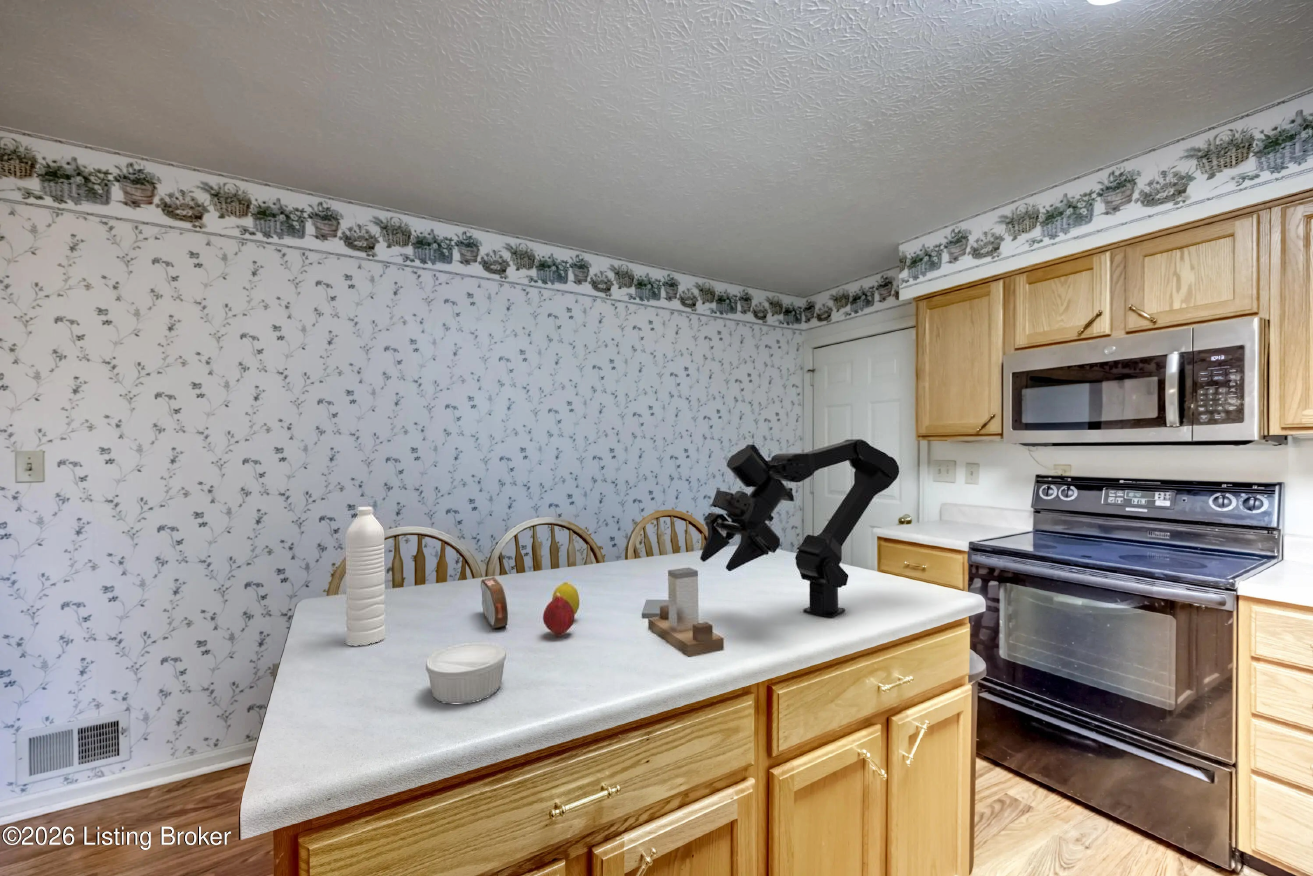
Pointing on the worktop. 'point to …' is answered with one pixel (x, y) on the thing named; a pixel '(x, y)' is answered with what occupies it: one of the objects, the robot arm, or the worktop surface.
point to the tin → (494, 602)
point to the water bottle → (365, 579)
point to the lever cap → (683, 599)
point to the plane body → (686, 635)
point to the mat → (653, 608)
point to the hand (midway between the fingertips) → (714, 564)
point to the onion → (558, 615)
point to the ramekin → (466, 672)
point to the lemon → (568, 595)
